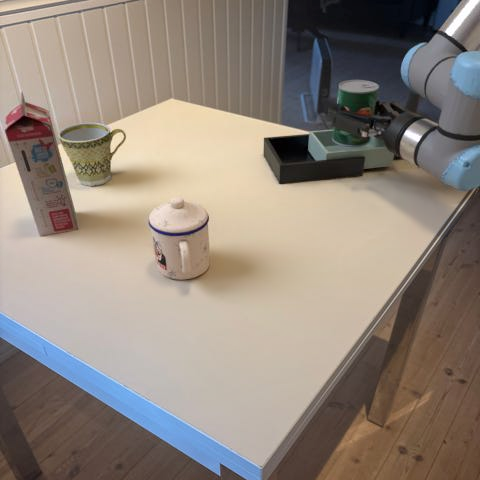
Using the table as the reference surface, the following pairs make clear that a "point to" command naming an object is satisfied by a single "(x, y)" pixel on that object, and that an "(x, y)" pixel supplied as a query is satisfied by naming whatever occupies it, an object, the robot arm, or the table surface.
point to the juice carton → (40, 168)
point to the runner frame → (305, 161)
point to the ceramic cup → (90, 151)
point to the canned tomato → (355, 107)
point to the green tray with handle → (373, 151)
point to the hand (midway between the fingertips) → (342, 102)
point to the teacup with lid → (180, 238)
